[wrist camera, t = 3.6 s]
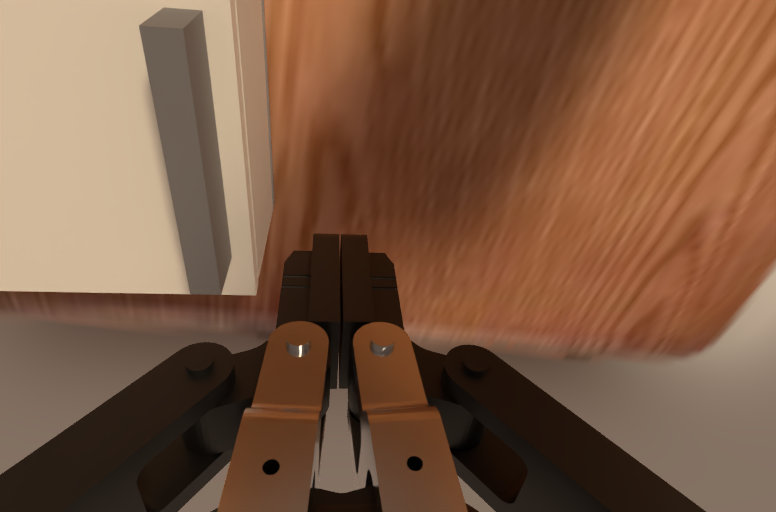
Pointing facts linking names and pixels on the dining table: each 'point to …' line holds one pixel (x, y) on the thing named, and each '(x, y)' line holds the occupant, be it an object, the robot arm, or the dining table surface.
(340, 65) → the dining table surface
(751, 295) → the dining table surface
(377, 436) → the robot arm
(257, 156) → the base
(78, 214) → the lid
